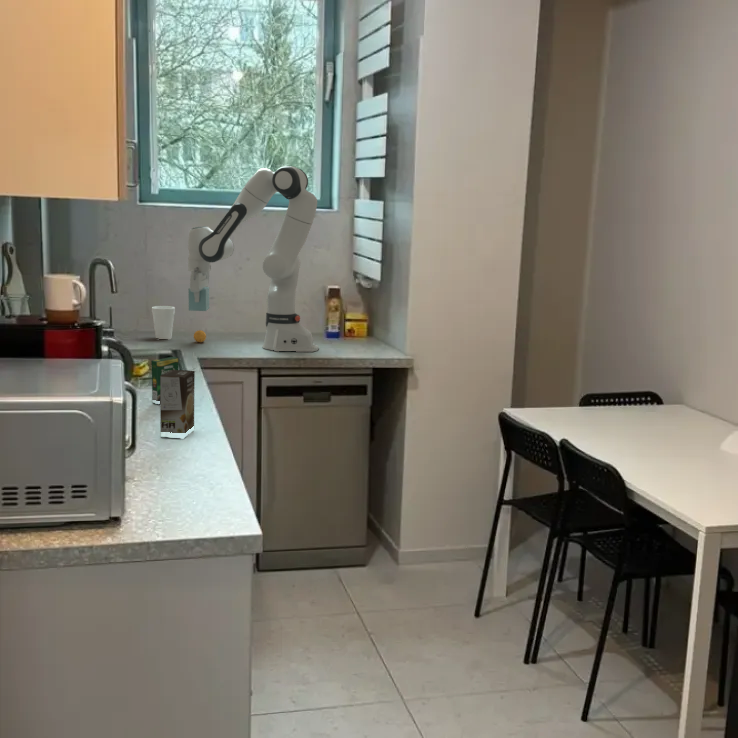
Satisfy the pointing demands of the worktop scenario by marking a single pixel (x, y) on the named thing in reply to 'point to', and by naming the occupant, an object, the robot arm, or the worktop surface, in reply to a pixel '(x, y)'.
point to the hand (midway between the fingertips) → (199, 300)
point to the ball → (199, 336)
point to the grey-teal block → (202, 304)
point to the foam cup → (163, 321)
